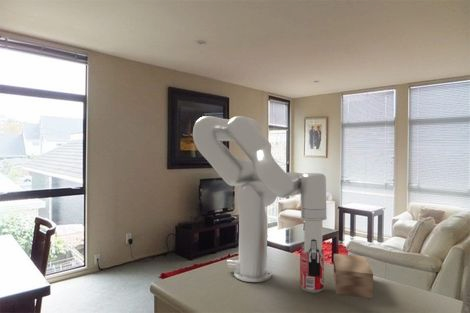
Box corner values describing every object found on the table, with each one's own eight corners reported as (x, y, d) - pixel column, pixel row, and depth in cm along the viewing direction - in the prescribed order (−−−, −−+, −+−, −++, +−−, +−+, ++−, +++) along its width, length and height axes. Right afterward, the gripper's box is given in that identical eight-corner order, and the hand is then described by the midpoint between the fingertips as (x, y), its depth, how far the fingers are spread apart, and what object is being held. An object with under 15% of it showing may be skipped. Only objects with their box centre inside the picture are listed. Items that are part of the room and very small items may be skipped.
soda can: (324, 295, 90) (325, 250, 90) (299, 292, 92) (300, 248, 92) (323, 285, 97) (323, 243, 97) (299, 282, 99) (300, 242, 99)
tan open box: (336, 293, 91) (336, 270, 91) (333, 273, 107) (333, 253, 107) (372, 298, 89) (373, 273, 89) (364, 277, 104) (364, 256, 104)
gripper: (302, 209, 104) (303, 260, 103) (299, 218, 87) (300, 279, 87) (325, 209, 102) (326, 261, 102) (327, 219, 85) (328, 282, 85)
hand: (314, 270), depth 94 cm, fingers open, 9 cm apart
